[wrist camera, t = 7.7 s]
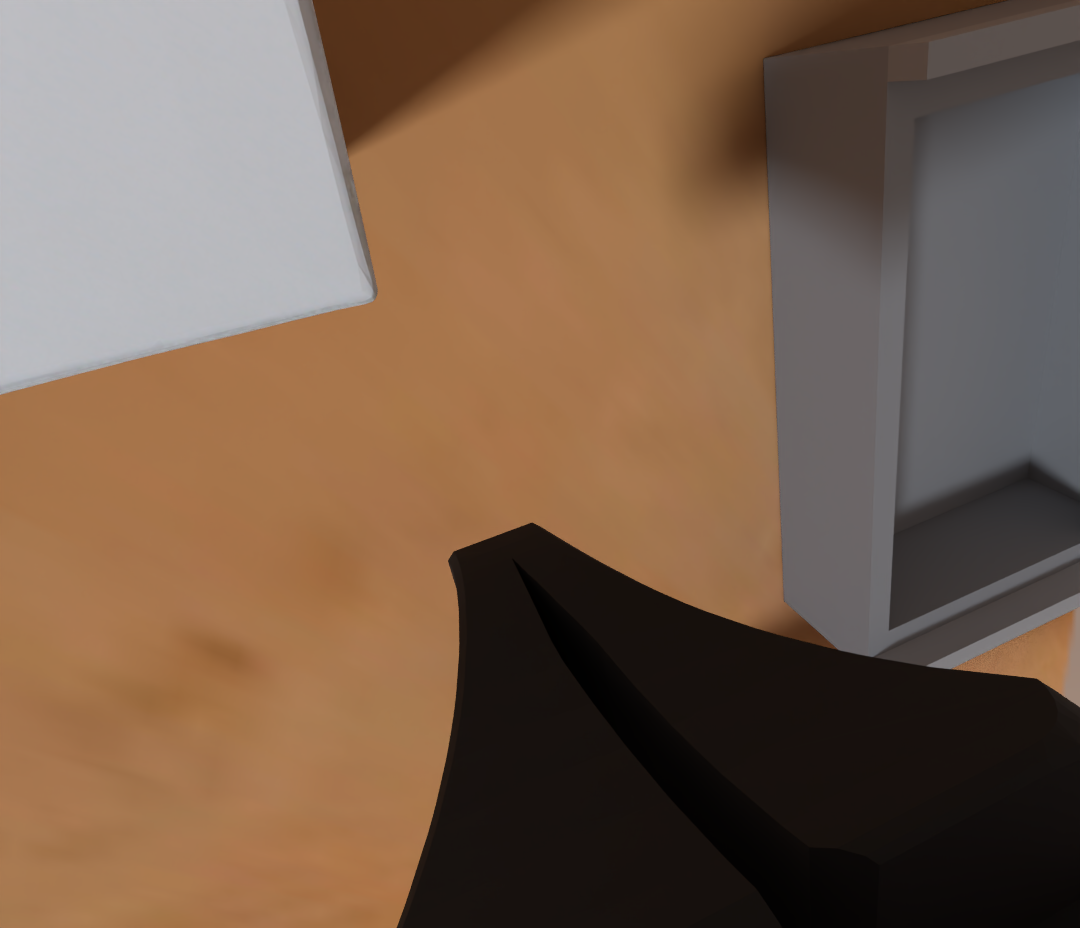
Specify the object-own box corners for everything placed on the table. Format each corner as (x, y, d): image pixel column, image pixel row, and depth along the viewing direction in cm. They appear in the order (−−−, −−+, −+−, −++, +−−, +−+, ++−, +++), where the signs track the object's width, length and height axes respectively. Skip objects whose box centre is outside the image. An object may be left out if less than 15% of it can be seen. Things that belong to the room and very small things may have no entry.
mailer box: (1024, 497, 32) (1163, 565, 27) (783, 601, 29) (891, 697, 24) (1102, -23, 23) (1333, -59, 18) (763, 58, 20) (928, 41, 15)
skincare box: (14, 250, 16) (-379, 496, 6) (-94, 19, 14) (-993, -231, 4) (301, 195, 17) (393, 312, 7) (240, -21, 15) (251, -279, 5)
